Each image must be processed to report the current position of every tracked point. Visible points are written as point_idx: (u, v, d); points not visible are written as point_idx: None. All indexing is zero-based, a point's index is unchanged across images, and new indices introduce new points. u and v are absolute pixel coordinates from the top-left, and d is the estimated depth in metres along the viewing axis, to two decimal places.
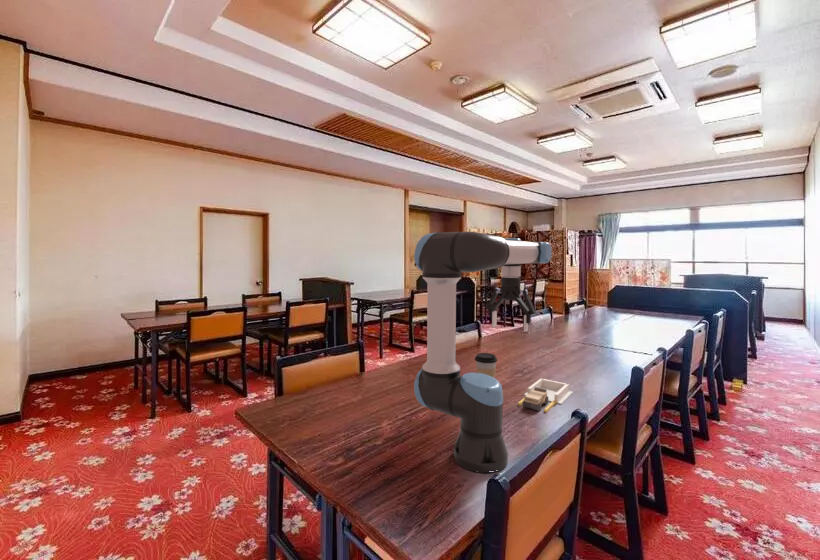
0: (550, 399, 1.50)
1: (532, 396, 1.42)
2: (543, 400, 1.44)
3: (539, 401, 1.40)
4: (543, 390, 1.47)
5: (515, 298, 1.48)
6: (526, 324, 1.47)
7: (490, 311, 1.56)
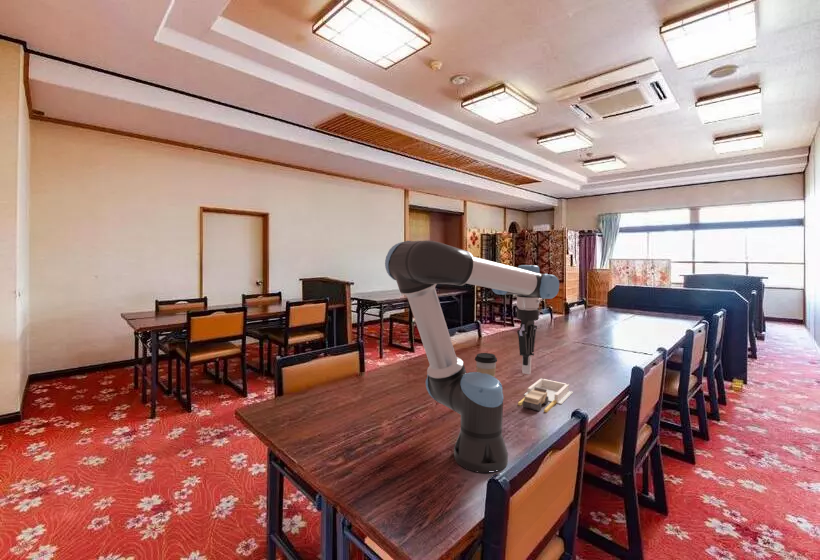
0: (550, 399, 1.50)
1: (532, 396, 1.43)
2: (543, 400, 1.44)
3: (539, 401, 1.40)
4: (543, 390, 1.47)
5: None
6: (524, 365, 1.35)
7: None
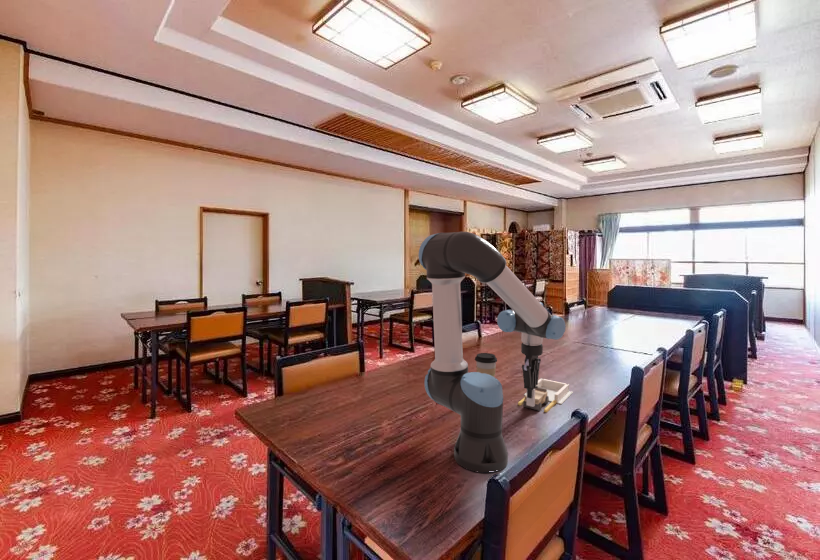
0: (550, 399, 1.50)
1: None
2: (543, 400, 1.44)
3: (539, 401, 1.40)
4: (543, 390, 1.47)
5: None
6: (528, 398, 1.39)
7: None
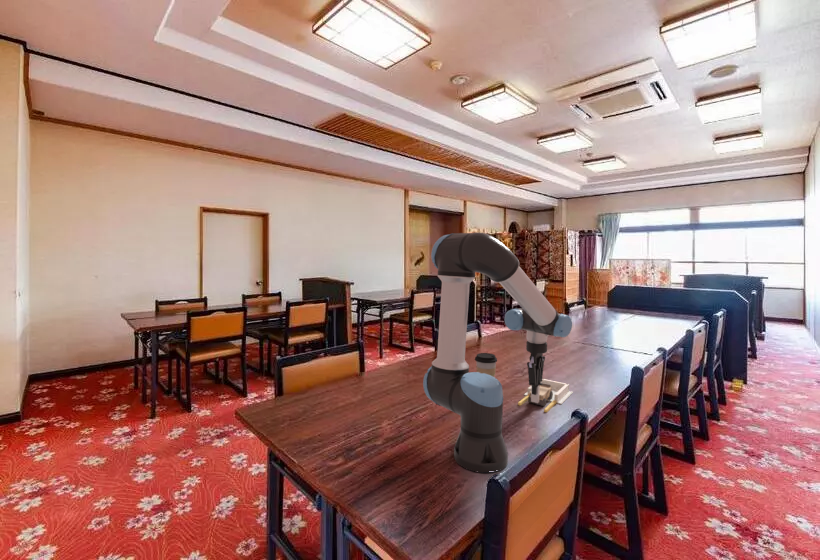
0: (550, 399, 1.50)
1: None
2: (548, 395, 1.48)
3: (544, 397, 1.44)
4: (547, 385, 1.51)
5: None
6: (533, 394, 1.44)
7: None
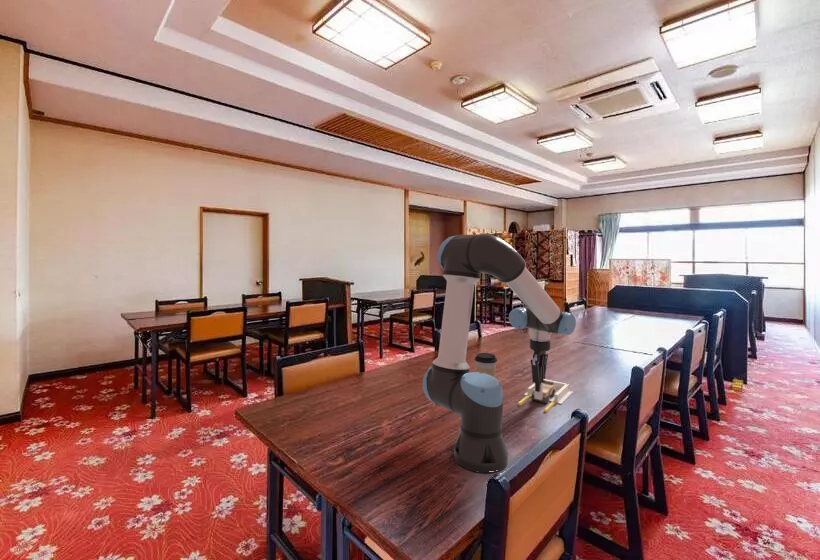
0: (550, 399, 1.50)
1: None
2: (550, 393, 1.50)
3: (547, 394, 1.47)
4: (550, 383, 1.54)
5: None
6: (536, 391, 1.46)
7: None
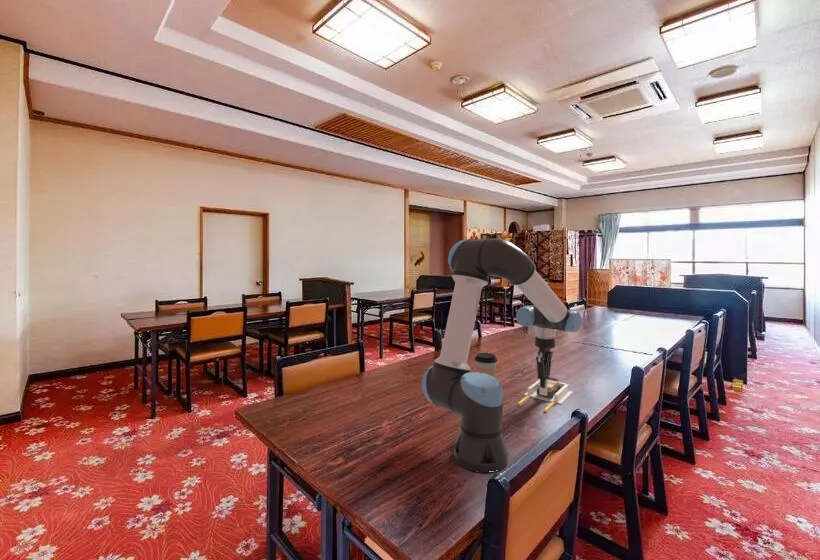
0: (550, 399, 1.50)
1: None
2: (555, 388, 1.55)
3: (552, 389, 1.51)
4: (555, 379, 1.58)
5: None
6: (541, 388, 1.51)
7: None
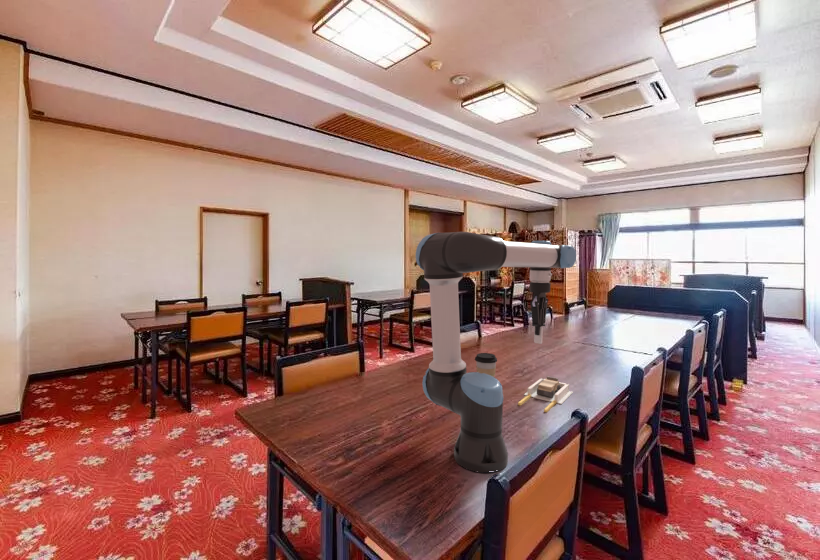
0: (550, 399, 1.50)
1: (545, 384, 1.54)
2: (555, 388, 1.55)
3: (552, 389, 1.52)
4: (555, 379, 1.59)
5: None
6: (536, 335, 1.43)
7: None
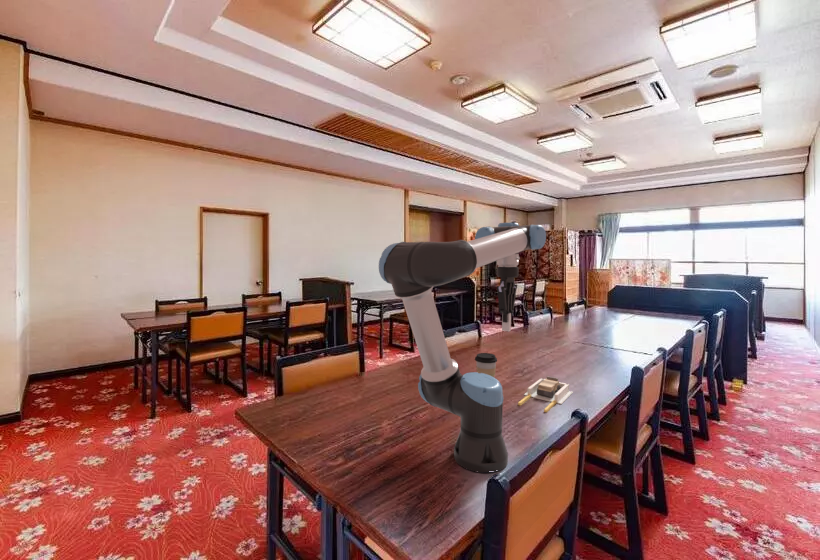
0: (550, 399, 1.50)
1: (545, 384, 1.54)
2: (555, 388, 1.55)
3: (552, 389, 1.52)
4: (555, 379, 1.59)
5: None
6: (504, 323, 1.36)
7: None
